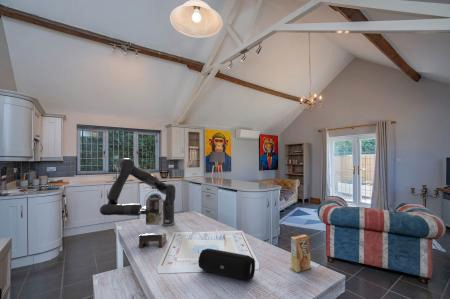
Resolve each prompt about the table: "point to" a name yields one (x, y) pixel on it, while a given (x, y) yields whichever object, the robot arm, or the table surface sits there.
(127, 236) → the table surface
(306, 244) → the candy box
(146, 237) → the bench
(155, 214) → the coffee box
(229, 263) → the portable speaker
